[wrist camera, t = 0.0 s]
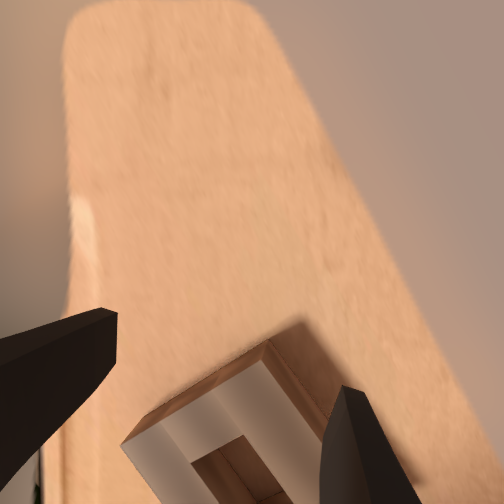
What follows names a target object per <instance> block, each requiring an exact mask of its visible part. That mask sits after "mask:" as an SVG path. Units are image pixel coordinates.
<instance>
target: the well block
mask: <svg viewBox="0 0 504 504" xmlns="http://www.w3.org/2000/svg"><path fill="white" fill-rule="evenodd" d="M328 422H329V421H328V420H327V418H326V417H325V416H324V414H323V413H322V412H321V410H320V409H319V407H318V406H317V405H316V403H315V402H314V401H313V399H312V398H311V396H310V395H309V394H308V392H307V391H306V390H305V388H304V387H303V386H302V384H301V383H300V381H299V380H298V379H297V377H296V376H295V375H294V373H293V372H292V370H291V369H290V368H289V366H288V365H287V364H286V362H285V361H284V360H283V358H282V357H281V355H280V354H279V353H278V351H277V350H276V349H275V347H274V346H273V344H272V343H271V342H270V340H269V339H268V340H266V341H264V342H263V343H261V344H260V345H258V346H256V347H255V348H253V349H252V350H250V351H248V352H247V353H245V354H244V355H242V356H240V357H239V358H237V359H236V360H234V361H232V362H231V363H229V364H228V365H226V366H224V367H223V368H221V369H220V370H218V371H216V372H215V373H213V374H212V375H210V376H208V377H207V378H205V379H204V380H202V381H200V382H199V383H197V384H196V385H194V386H192V387H191V388H189V389H188V390H186V391H184V392H183V393H181V394H180V395H178V396H176V397H175V398H173V399H172V400H170V401H168V402H167V403H165V404H164V405H162V406H161V407H159V408H157V409H156V410H154V411H153V412H151V413H149V414H148V415H146V416H145V417H143V418H142V419H141V420H140V422H139V423H138V424H137V425H136V426H135V428H134V429H133V430H132V431H131V433H130V434H129V435H128V436H127V437H126V439H125V440H124V441H123V442H122V444H121V445H120V447H121V448H122V450H123V451H124V453H125V454H126V455H127V457H128V458H129V459H130V461H131V462H132V463H133V465H134V466H135V468H136V469H137V470H138V472H139V473H140V474H141V476H142V477H143V479H144V480H145V481H146V483H147V484H148V485H149V487H150V488H151V489H152V491H153V492H154V494H155V495H156V496H157V498H158V499H159V500H160V502H161V503H162V504H319V473H320V462H321V451H322V441H323V435H324V432H325V430H326V427H327V424H328ZM242 435H244V436H245V437H246V439H247V440H248V441H249V443H250V444H251V446H252V447H253V448H254V450H255V451H256V452H257V454H258V455H259V457H260V458H261V459H262V461H263V462H264V463H265V465H266V466H267V468H268V469H269V470H270V472H271V473H272V474H273V476H274V477H275V478H276V480H277V481H278V483H279V484H280V485H281V487H282V488H283V489H284V491H282V492H280V493H278V494H276V495H274V496H271V497H269V498H267V499H265V500H263V501H261V502H258V503H257V502H256V500H255V499H254V497H253V496H252V495H251V493H250V492H249V491H248V489H247V488H246V486H245V485H244V484H243V482H242V481H241V480H240V478H239V477H238V476H237V474H236V473H235V471H234V470H233V469H232V467H231V466H230V465H229V463H228V462H227V460H226V459H225V458H224V456H223V455H222V454H221V452H220V451H219V449H218V448H219V447H221V446H223V445H225V444H227V443H229V442H231V441H232V440H234V439H236V438H238V437H240V436H242Z"/></svg>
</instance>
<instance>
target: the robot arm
mask: <svg viewBox="0 0 504 504" xmlns="http://www.w3.org/2000/svg"><path fill="white" fill-rule="evenodd" d="M117 316H118V313H117V312H114V311H111V310H108V309H105V308H102V307H101V308H97V309H93V310H90V311H86V312H83V313H80V314H77V315H74V316H71V317H68V318H64V319H61V320H58V321H55V322H52V323H49V324H46V325H43V326H40V327H37V328H34V329H31V330H28V331H25V332H22V333H18V334H15V335H12V336H9V337H5V338H2V339H0V492H1V490H2V489H3V488H4V487H5V486H6V484H7V483H8V482H9V481H10V480H11V478H12V477H13V476H14V475H15V474H16V472H17V471H18V470H19V469H20V468H21V467H22V466H23V465H24V464H25V463H26V462H27V460H28V459H29V458H30V457H31V456H32V455H33V454H34V453H35V452H36V451H37V450H38V449H39V448H40V447H41V446H42V445H43V444H44V443H45V442H46V441H47V440H48V439H49V438H50V437H51V436H52V435H53V434H54V433H55V432H56V431H57V430H58V429H59V428H60V427H61V426H62V424H63V423H64V422H65V421H66V420H67V419H68V418H69V417H70V416H71V415H72V414H73V413H74V412H75V411H76V410H77V409H78V408H79V407H80V406H81V405H82V404H83V403H84V402H85V401H86V400H87V399H88V398H89V397H90V396H91V394H92V393H93V392H94V391H95V390H96V389H97V388H98V386H99V385H100V384H101V383H102V381H103V380H104V379H105V377H106V376H107V375H108V373H109V372H110V371H111V369H112V368H113V367H114V365H115V364H116V350H117ZM319 504H422V503H421V501H420V499H419V498H418V496H417V494H416V492H415V490H414V489H413V487H412V485H411V483H410V482H409V480H408V478H407V476H406V474H405V472H404V470H403V469H402V467H401V465H400V463H399V461H398V459H397V457H396V455H395V454H394V452H393V450H392V448H391V446H390V444H389V442H388V440H387V438H386V436H385V434H384V432H383V430H382V428H381V426H380V424H379V422H378V420H377V417H376V415H375V413H374V411H373V409H372V407H371V405H370V403H369V401H368V399H367V397H366V395H365V393H364V392H362V391H359V390H356V389H352V388H349V387H346V386H343V385H342V387H341V390H340V392H339V395H338V398H337V400H336V403H335V406H334V408H333V411H332V414H331V416H330V419H329V422H328V424H327V427H326V430H325V432H324V435H323V441H322V451H321V462H320V473H319Z"/></svg>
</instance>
